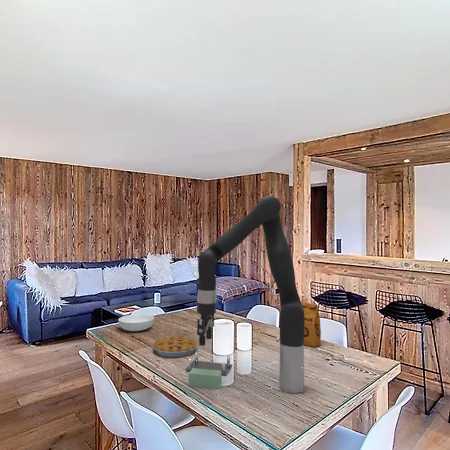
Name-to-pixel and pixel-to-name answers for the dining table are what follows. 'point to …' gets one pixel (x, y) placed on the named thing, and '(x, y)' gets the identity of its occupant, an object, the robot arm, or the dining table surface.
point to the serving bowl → (136, 322)
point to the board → (205, 378)
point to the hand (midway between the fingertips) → (205, 341)
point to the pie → (175, 346)
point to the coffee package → (311, 325)
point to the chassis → (209, 365)
